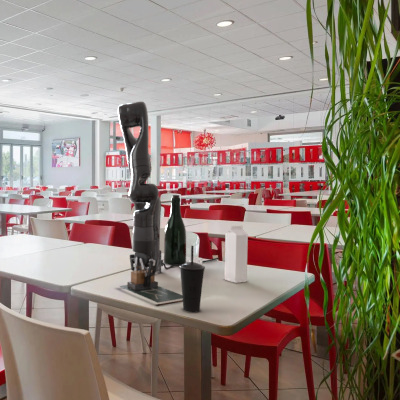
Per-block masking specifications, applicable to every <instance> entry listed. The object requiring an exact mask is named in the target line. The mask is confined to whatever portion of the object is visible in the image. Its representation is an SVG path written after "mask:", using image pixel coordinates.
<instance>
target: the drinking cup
mask: <svg viewBox="0 0 400 400" xmlns="http://www.w3.org/2000/svg"><path fill="white" fill-rule="evenodd" d="M193 257H194V245H191V246H190V258H191V262H189V261H188V262H187V261H186V263H184V264H181V265H179V266H178V267H179V271H180V283H181V295H182V297H183V298H182V300H183V302H182V307H183V311H185V312H187V313H198V312H200V310H201V300H202V292H203V283H204V282H203V281H204V272H205V269H206V266H205V265H203V264H202V265H201V264H199V263H195V262H193Z"/></svg>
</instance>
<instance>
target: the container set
mask: <svg viewBox="0 0 400 400" xmlns="http://www.w3.org/2000/svg"><path fill="white" fill-rule="evenodd" d="M202 261H203V257H197V256H196V257H195V256H193V262H195V263H199V264H201V265H202V266H203V263H202ZM188 262H191V257H189V258H188Z"/></svg>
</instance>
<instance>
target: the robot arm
mask: <svg viewBox="0 0 400 400" xmlns="http://www.w3.org/2000/svg"><path fill="white" fill-rule="evenodd" d="M117 117H118V122H119V127H120V131H121V135H122V138H123V143H124V148H125V149H124V150H125V155H126V161H127V167H128V172H129V176H130V183H129V189H128V198H129V200H130V202H132V204H133V205H134V206H133V207H134V212H133V225H132V226H133V228H132V252H133V254H129V262H130V270H131V271H138V270H143V271H144V276H145V277H144V286H145V287H150V285H151V276H154V275H155V276H156V274H160V273H162V267H164V269H165V270H168V269H171V268H174V267H179V266H180V265H181V264H175V265H170V266H168V267H167V265H166V263H164V259H162V250H161V249H160V246H161V245H160V243H161V242H160V239H161V238H160V237H161V214H162V201H161V198H160V196H159V189H158V187H157V184H155V183H146V182H147V180H148V179H149V178H150V176H151V173H152V162H151V156H150V152H149V143H150V142H149V135H150V134H149V131H150V130H149V114H148V107H147V104H146V103H145V102H144V101H142V100H141V101H135V102H128V103H123V104H119V106H118V107H117ZM138 127H140V128H139V134H138V137H137V139H136V137H135V136H134V134H133V133H132V131H131V129H132V128H138ZM219 259H220V257H214V258H211V259H205V260H202V264H203V263H208V262H212V261H216V260H219ZM183 264H184V263H183ZM147 270H148V273H147ZM151 270H152V272H151Z"/></svg>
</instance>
